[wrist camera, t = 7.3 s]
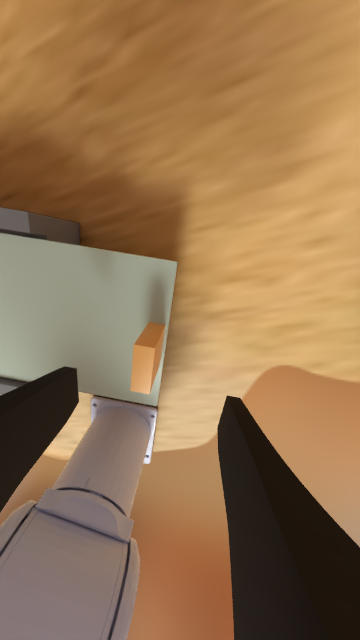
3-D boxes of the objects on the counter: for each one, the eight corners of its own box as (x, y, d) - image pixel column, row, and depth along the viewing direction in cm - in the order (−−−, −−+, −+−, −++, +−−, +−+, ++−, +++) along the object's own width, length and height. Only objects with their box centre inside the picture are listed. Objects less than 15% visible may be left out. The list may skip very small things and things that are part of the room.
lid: (158, 401, 17) (146, 445, 13) (-24, 366, 18) (-86, 399, 14) (178, 261, 13) (169, 266, 9) (-63, 221, 13) (-168, 210, 10)
